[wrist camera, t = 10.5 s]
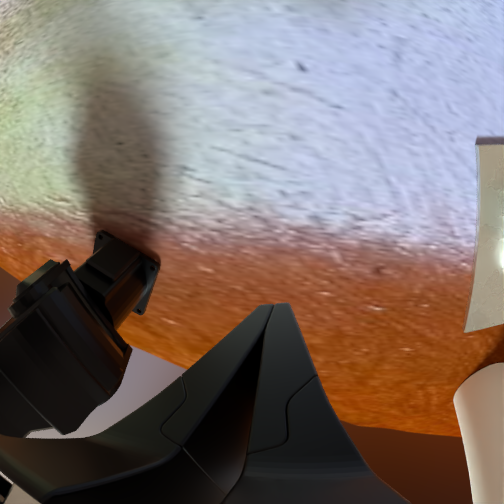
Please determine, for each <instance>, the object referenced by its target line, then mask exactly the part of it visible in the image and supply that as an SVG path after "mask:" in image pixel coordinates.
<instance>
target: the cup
mask: <svg viewBox="0 0 504 504" xmlns="http://www.w3.org/2000/svg"><path fill="white" fill-rule="evenodd" d="M453 401H454V405H455V409H456V413H457V417H458V421H459V425H460V430H461V434H462V438H463V443H464V448H465V453H466V458H467V464H468V470H469V476H470V482H471V490H472V497H473V504H504V363H496V364H492V365H489V366H487V367H485V368H483V369H481V370H479V371H477V372H476V373H474V374H473V375H471V376H470V377H469V378H468V379H466V380H465V381H464V382H463V383H462V384H461V385H460V387H459V388H458V389H457V391H456V393H455V395H454V399H453Z"/></svg>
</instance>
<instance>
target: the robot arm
mask: <svg viewBox="0 0 504 504" xmlns="http://www.w3.org/2000/svg"><path fill="white" fill-rule="evenodd" d="M101 235H102V236H101ZM70 265H71V264H70V263H69V261H68V260H67V259H66V260H65V261H63V262H62V263H61V264H60V262H55V261H53V260H51V259H50V260H49V261H48V262H47V263H45V264H44V265H43V266H41V267H40V268H39V269H38V270H36V271H35V272H34V273H32V274H31V275H30V276H28V277H27V278H26V279H25V280H23V281H22V282H21V283H20V284H18V285H17V289H16V297H15V298H14V299H13V303H12V304H11V305H10V306H9V308H8V311H9V312H10V314H11V315H12V317H11V318H10V319H9V320H8V321H7V322H6V323H5V324H4V325H3V326H2V327H1V328H0V471H1V472H2V473H3V474H4V475H5V476H7V477H8V478H9V479H10V480H11V481H12V482H13V484H11V483H10V482H9V481H7V480H6V479H5V478H4V477H2V476H1V475H0V504H411V503H410V502H409V501H408V500H406V499H405V498H404V497H403V496H401V495H400V494H399V493H397V492H396V491H395V490H394V489H393V488H392V487H390V486H389V485H388V484H387V483H385V482H384V481H383V480H382V479H381V478H379V477H378V476H377V475H376V474H375V473H374V471H373V470H372V469H371V468H370V467H369V465H368V464H367V462H366V461H365V460H364V458H363V457H362V455H361V454H360V452H359V451H358V449H357V447H356V446H355V444H354V443H353V441H352V440H351V438H350V436H349V435H348V433H347V432H346V430H345V428H344V427H343V425H342V424H341V422H340V420H339V419H338V417H337V415H336V413H335V411H334V410H333V408H332V406H331V404H330V402H329V400H328V398H327V396H326V393H325V391H324V389H323V386H322V384H321V381H320V379H319V377H318V374H317V371H316V369H315V366H314V364H313V361H312V359H311V356H310V353H309V351H308V348H307V346H306V343H305V341H304V338H303V336H302V333H301V331H300V328H299V325H298V323H297V320H296V318H295V315H294V313H293V310H292V308H291V305H290V303H277V304H275V305H274V304H264V305H260V306H258V307H257V308H256V309H255V310H254V311H253V312H252V313H251V314H250V315H248V316H247V317H246V318H245V319H244V320H243V321H242V322H241V323H240V324H239V325H237V326H236V327H235V328H234V329H233V330H232V331H231V332H230V333H229V334H227V335H226V336H225V337H224V338H223V339H222V340H221V341H220V342H219V343H217V344H216V345H215V346H214V347H213V348H212V349H211V350H210V351H208V352H207V353H206V354H205V355H204V356H203V357H202V358H200V359H199V360H198V361H197V362H196V363H195V364H194V365H192V366H191V367H190V368H189V369H188V370H187V371H186V372H184V373H183V374H182V377H181V376H180V377H178V378H177V379H176V380H175V381H174V382H173V383H171V384H170V385H169V386H168V387H166V388H165V389H164V390H163V391H161V393H159V394H158V395H156V396H155V397H154V398H152V399H151V400H149V401H148V402H147V403H145V404H144V405H143V406H141V407H140V408H138V409H137V410H135V411H134V412H132V413H131V414H129V415H128V416H126V417H125V418H123V419H122V420H120V421H119V422H117V423H116V424H114V425H112V426H111V427H109V428H108V429H106V430H104V431H103V432H101V433H99V434H96V435H93V436H90V437H85V438H68V439H67V438H66V439H41V438H40V439H39V438H25V437H26V436H27V435H29V434H30V433H31V432H34V431H40V430H46V429H52V428H55V429H56V430H57V431H58V432H59V433H60V434H62V435H66V434H68V433H71V432H74V431H76V430H77V429H78V428H79V427H80V425H81V424H82V423H83V422H84V420H85V419H86V418H87V417H88V415H89V414H90V413H91V412H92V411H93V410H94V409H95V408H96V407H97V406H100V405H101V404H103V403H105V402H106V401H107V400H109V399H110V398H111V397H112V396H113V395H114V394H115V392H116V391H117V389H118V388H119V387H120V385H121V382H122V379H123V376H124V373H125V370H126V367H127V364H128V362H129V359H130V356H131V353H132V348H131V347H130V345H129V344H127V343H126V342H125V341H124V340H123V338H122V337H121V336H120V335H119V333H118V332H117V331H116V330H117V329H118V328H119V327H120V325H121V324H122V323H123V321H124V320H125V319H126V318H127V316H128V315H129V314H130V313H131V311H133V312H135V313H137V314H138V315H143V314H144V312H145V311H146V308H147V305H148V302H149V299H150V296H151V293H152V290H153V287H154V284H155V281H156V278H157V275H158V272H159V270H160V265H159V263H158V262H156V261H155V260H153V259H151V258H149V257H148V256H146V255H144V254H142V253H141V252H139V251H137V250H136V249H134V248H132V247H131V246H129V245H127V244H125V243H124V242H122V241H120V240H119V239H117V238H115V237H114V236H112V235H110V234H109V233H107V232H105V231H104V230H100V231H99V232H98V233H97V234H96V239H95V244H94V250H93V255H92V256H90V257H89V258H88V259H87V260H86V261H85V262H84V263H83V264H82V265H81V266H79V267H78V268H77V269H76V270H75V271H73V270H72V268H71V267H70ZM152 266H154V267H155V268H153V267H152ZM139 309H140V310H139Z"/></svg>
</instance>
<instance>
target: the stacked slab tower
mask: <svg viewBox="0 0 504 504" xmlns="http://www.w3.org/2000/svg"><path fill="white" fill-rule="evenodd" d="M475 150H476V169H477V217H476V236H475V248H474V259H473V268H472V276H471V283H470V290H469V296H468V302H467V307H466V313H465V318H464V323H463V327H462V329H463V331H464V333H466V332H471V331H475V330H479V329H483V328H488V327H492V326H496V325H500V324H503V323H504V144H475Z"/></svg>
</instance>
